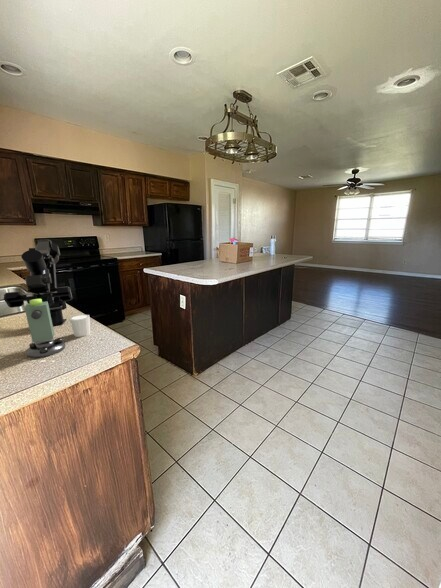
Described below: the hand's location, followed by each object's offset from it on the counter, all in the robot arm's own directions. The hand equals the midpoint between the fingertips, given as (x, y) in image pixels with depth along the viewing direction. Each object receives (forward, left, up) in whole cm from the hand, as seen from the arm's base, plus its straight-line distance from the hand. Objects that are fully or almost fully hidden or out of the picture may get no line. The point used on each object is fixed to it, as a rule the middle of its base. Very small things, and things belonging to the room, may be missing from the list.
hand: (40, 317), depth 83 cm
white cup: (-10, +9, -12) cm, 18 cm away
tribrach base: (+2, 0, -11) cm, 11 cm away
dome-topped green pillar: (+2, 0, -8) cm, 8 cm away
